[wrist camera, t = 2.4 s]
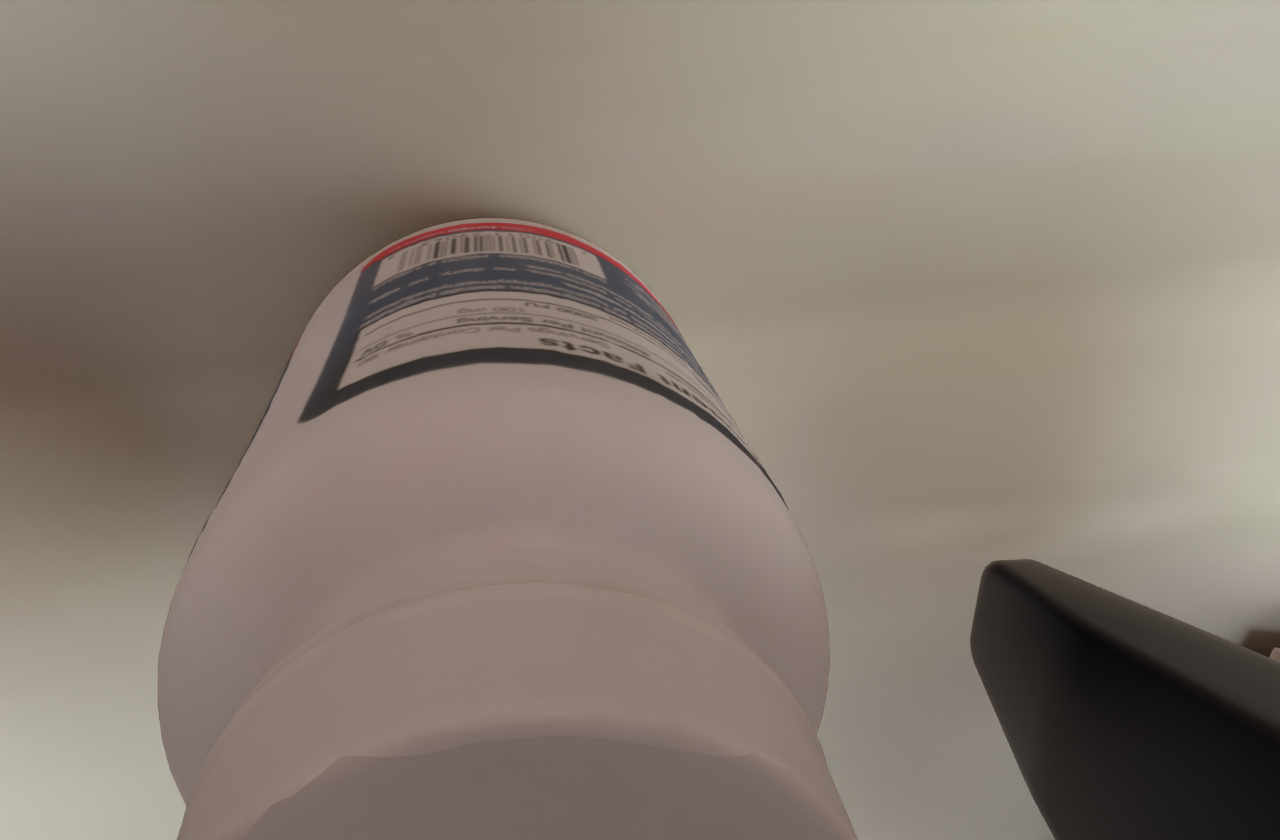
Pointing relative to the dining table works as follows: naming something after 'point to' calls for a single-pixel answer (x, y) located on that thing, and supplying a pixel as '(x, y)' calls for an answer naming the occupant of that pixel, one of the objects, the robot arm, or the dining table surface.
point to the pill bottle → (498, 577)
